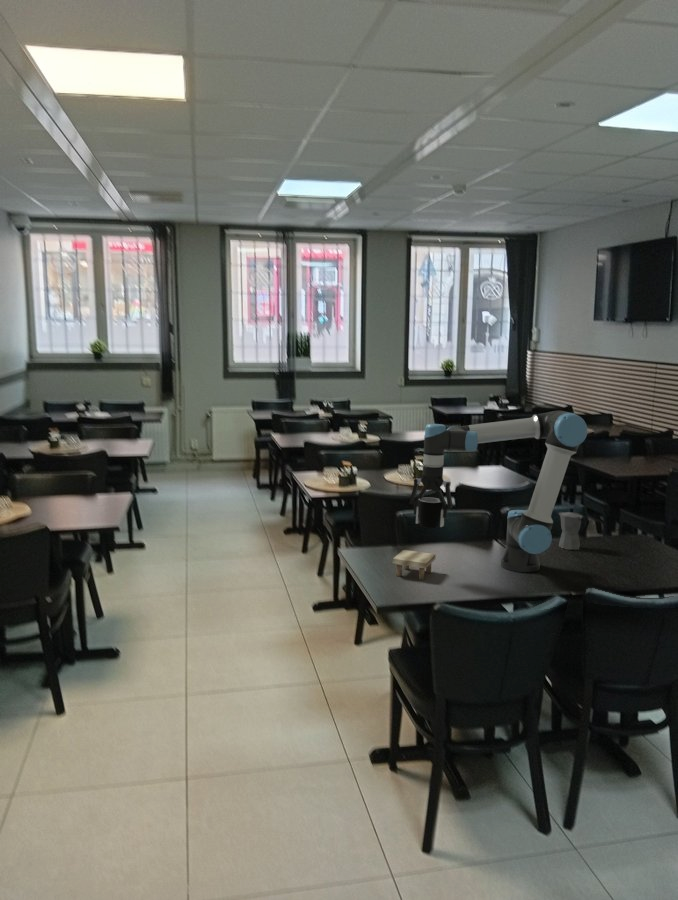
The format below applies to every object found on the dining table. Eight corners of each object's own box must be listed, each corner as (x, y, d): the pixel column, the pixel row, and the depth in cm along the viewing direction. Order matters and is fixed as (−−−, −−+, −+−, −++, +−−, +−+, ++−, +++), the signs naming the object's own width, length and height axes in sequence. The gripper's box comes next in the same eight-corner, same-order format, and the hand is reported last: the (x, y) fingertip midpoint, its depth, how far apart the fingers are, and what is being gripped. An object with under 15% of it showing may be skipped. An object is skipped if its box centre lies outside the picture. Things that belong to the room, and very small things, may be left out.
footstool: (434, 571, 275) (435, 554, 274) (425, 581, 263) (425, 563, 262) (403, 567, 280) (403, 549, 279) (392, 576, 268) (392, 558, 267)
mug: (444, 529, 262) (446, 502, 260) (420, 529, 260) (422, 502, 258) (433, 521, 273) (435, 495, 272) (411, 521, 272) (413, 495, 270)
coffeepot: (550, 546, 313) (552, 506, 311) (562, 543, 319) (565, 504, 316) (580, 554, 301) (583, 513, 298) (593, 551, 307) (595, 510, 304)
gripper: (463, 467, 262) (460, 526, 266) (408, 461, 271) (405, 518, 274) (459, 469, 256) (455, 530, 259) (402, 464, 264) (399, 523, 267)
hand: (429, 524), depth 266 cm, fingers closed on mug, 9 cm apart
